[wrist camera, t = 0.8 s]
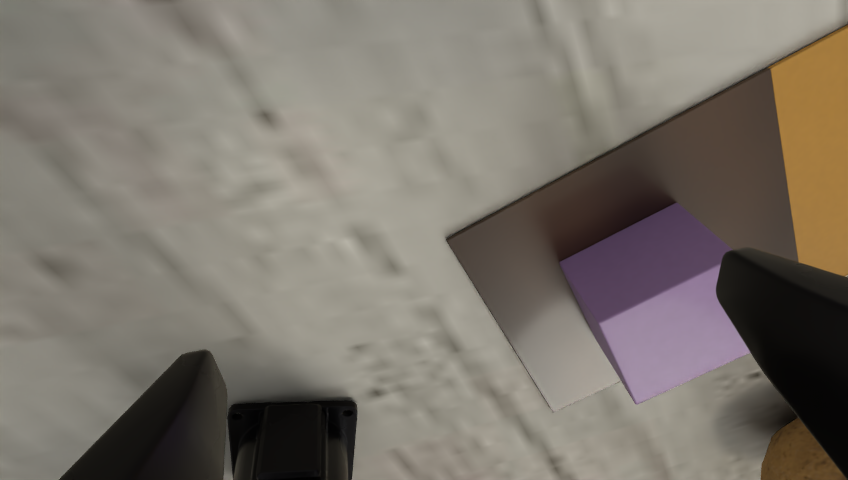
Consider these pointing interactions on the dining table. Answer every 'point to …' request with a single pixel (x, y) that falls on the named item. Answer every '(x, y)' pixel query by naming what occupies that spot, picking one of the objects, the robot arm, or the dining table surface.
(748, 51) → the dining table surface
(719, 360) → the block
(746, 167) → the board
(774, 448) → the potato
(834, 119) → the pad
